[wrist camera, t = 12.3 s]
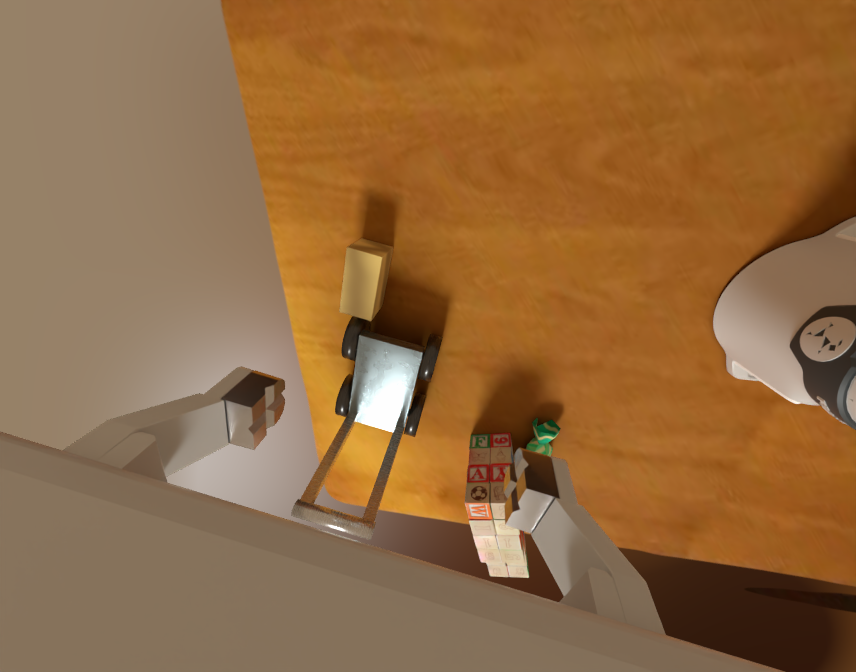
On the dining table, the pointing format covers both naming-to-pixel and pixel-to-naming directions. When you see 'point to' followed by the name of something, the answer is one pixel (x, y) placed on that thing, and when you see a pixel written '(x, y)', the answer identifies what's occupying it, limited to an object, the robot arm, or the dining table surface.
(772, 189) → the dining table surface
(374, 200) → the dining table surface
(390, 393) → the trolley
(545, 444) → the candy
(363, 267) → the block
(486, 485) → the stack of blocks
